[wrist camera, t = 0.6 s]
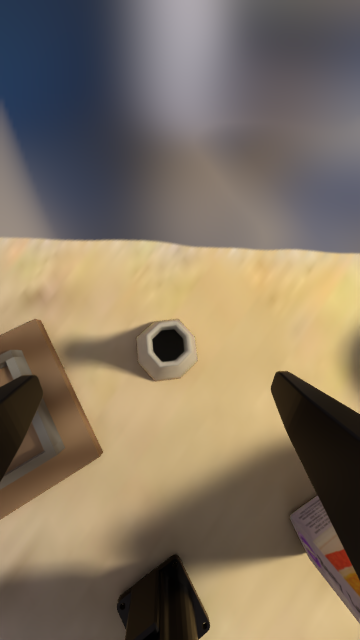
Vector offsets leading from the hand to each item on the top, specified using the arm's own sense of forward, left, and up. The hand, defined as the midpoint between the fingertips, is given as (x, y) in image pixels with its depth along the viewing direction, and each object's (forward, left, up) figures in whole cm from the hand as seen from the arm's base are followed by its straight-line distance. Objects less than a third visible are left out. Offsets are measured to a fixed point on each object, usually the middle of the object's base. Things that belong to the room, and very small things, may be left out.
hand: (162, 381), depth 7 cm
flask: (+1, -1, -16) cm, 16 cm away
